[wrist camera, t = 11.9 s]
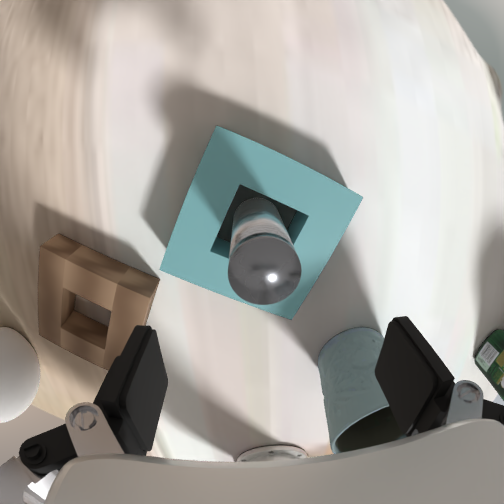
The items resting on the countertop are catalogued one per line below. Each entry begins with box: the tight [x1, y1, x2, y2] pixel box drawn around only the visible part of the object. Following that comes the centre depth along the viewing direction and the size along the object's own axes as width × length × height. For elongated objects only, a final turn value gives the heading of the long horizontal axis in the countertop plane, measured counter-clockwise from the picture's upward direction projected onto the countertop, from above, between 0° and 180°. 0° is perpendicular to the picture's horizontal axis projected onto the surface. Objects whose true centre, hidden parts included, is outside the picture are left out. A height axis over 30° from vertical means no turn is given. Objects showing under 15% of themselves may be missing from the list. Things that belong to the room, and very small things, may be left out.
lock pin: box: [228, 198, 302, 305], centre depth 20 cm, size 4×4×10 cm
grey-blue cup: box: [318, 327, 407, 454], centre depth 26 cm, size 10×10×12 cm
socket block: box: [160, 126, 363, 320], centre depth 23 cm, size 12×12×4 cm
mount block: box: [38, 234, 160, 371], centre depth 26 cm, size 12×12×4 cm
